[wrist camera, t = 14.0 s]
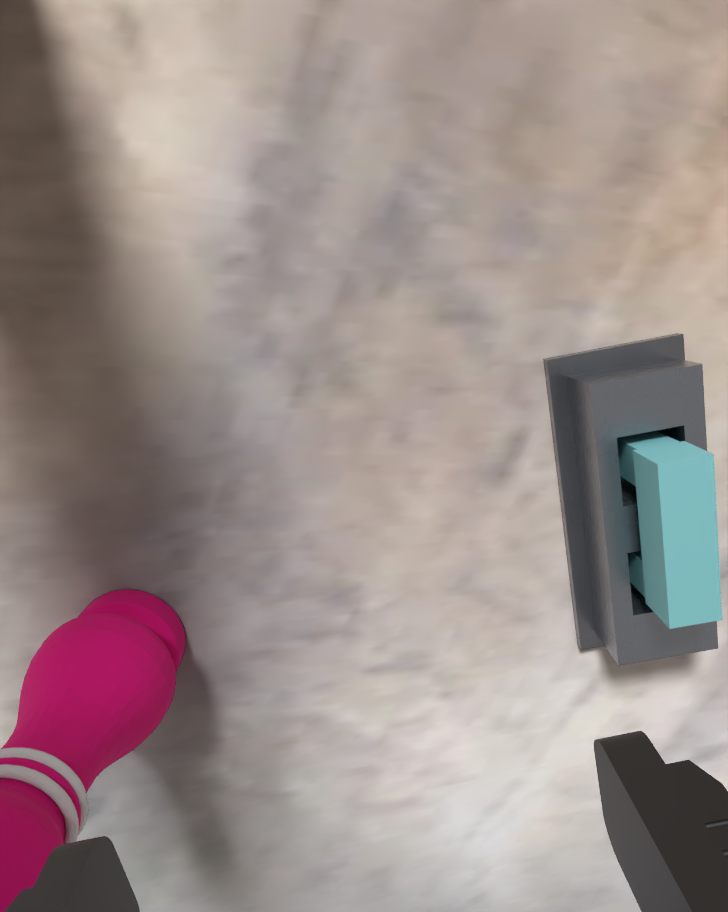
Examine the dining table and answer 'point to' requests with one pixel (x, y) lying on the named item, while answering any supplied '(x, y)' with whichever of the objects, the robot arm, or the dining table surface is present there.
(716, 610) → the clip
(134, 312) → the dining table surface
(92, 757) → the pepper mill
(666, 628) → the grey hollow block
